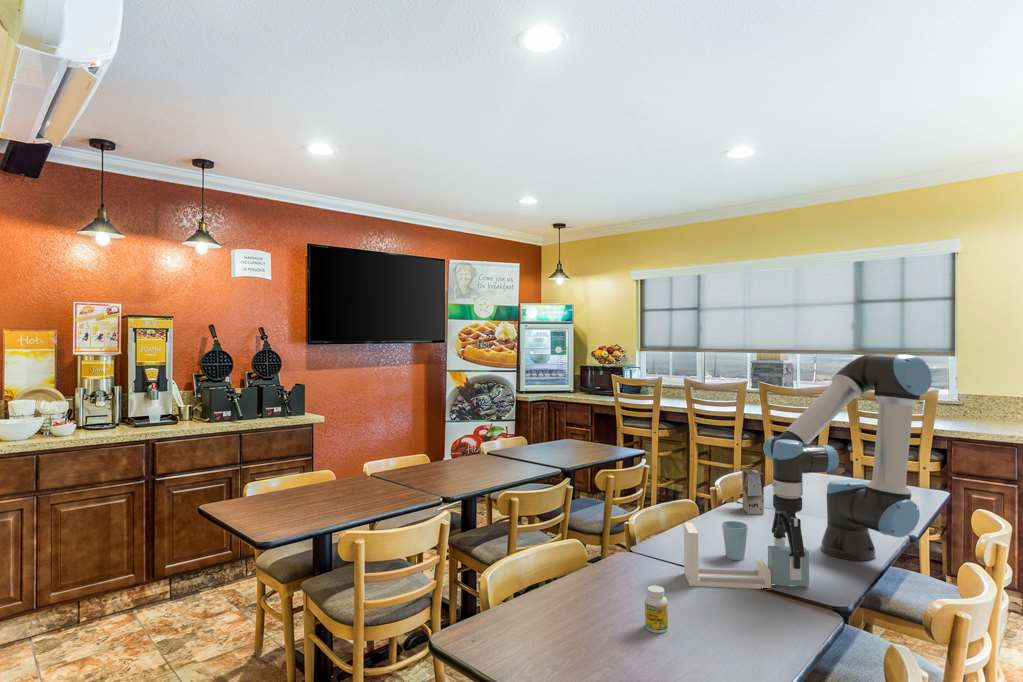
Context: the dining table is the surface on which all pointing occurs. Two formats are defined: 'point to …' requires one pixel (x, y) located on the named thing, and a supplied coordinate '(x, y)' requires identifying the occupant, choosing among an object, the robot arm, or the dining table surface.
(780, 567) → the door panel
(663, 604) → the supplement bottle
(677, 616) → the dining table surface
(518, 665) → the dining table surface
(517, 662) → the dining table surface
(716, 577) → the track board
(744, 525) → the cup
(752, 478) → the coffee box
